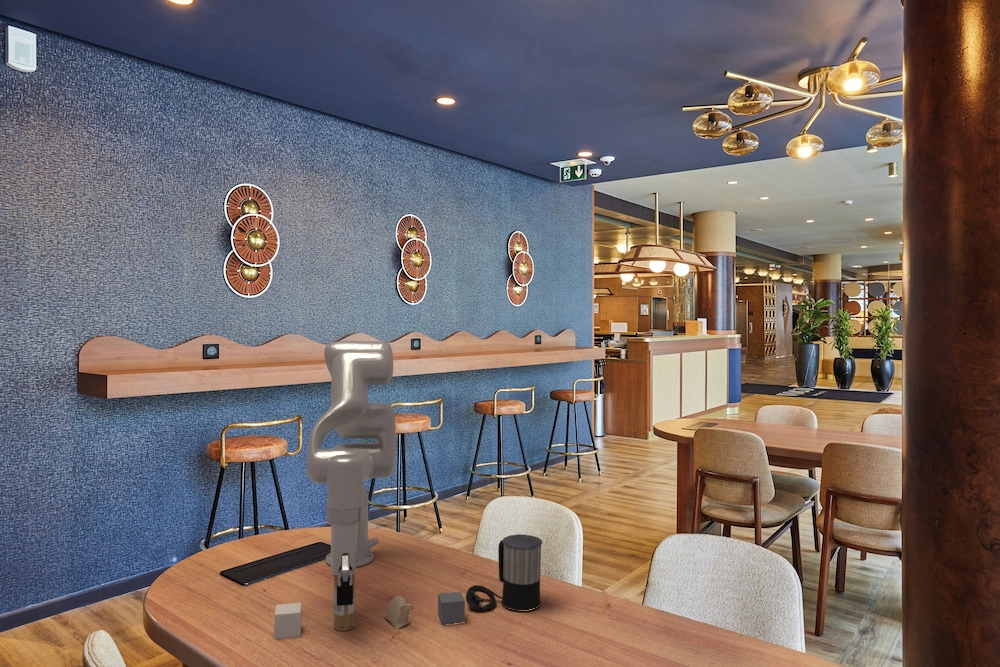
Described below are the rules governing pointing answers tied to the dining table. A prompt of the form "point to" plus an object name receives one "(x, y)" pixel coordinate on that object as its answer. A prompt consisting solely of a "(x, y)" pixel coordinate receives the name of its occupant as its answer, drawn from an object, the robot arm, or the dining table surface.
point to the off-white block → (287, 620)
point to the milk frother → (514, 575)
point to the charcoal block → (451, 608)
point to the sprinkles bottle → (344, 608)
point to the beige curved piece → (398, 612)
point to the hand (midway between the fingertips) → (344, 595)
